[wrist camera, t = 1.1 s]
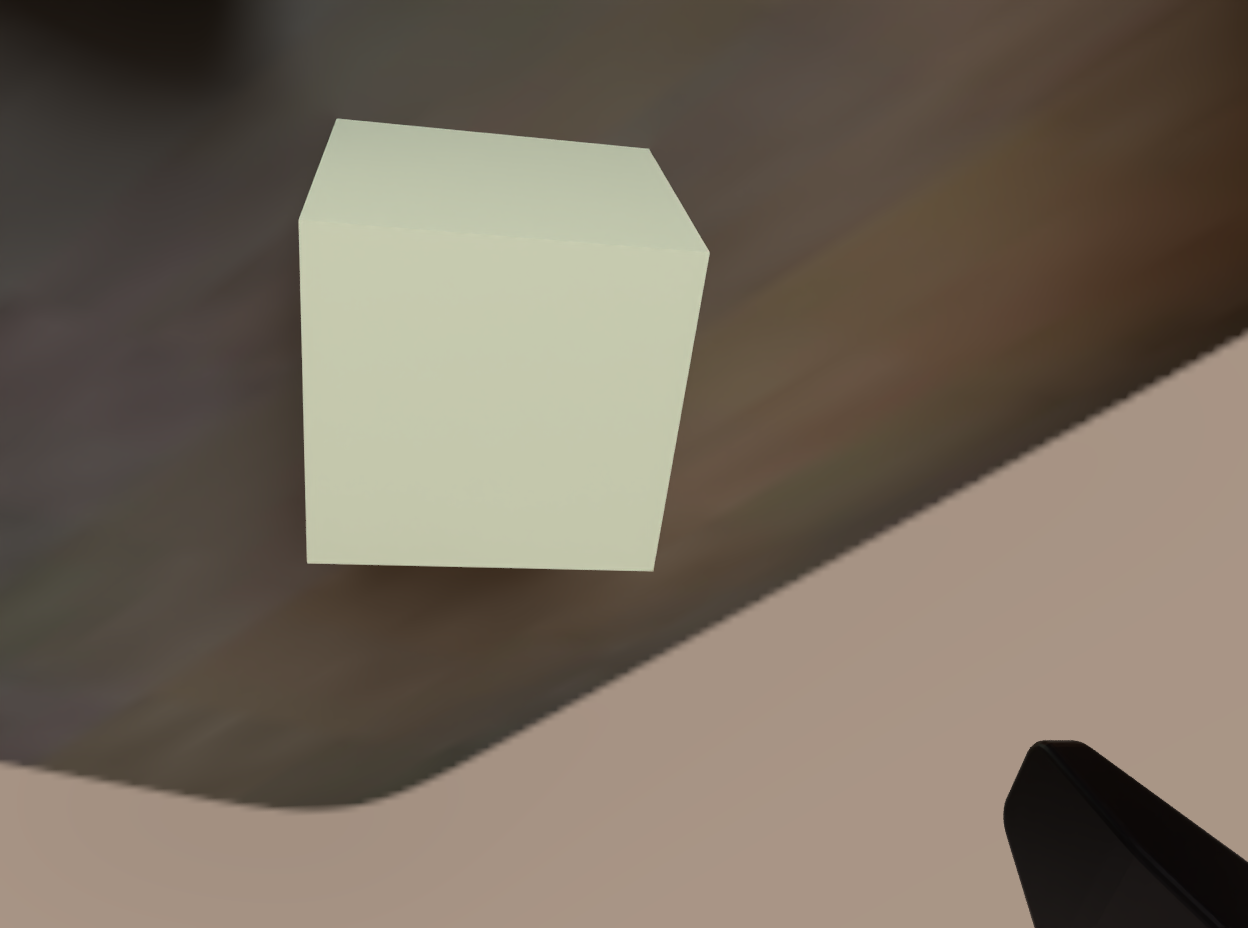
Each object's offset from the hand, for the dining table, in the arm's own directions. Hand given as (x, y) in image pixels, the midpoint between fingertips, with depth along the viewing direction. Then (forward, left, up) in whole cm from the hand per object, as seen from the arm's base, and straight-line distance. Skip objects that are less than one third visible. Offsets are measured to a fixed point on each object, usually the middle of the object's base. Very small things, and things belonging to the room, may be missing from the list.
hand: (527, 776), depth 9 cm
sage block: (0, 0, -11) cm, 11 cm away
